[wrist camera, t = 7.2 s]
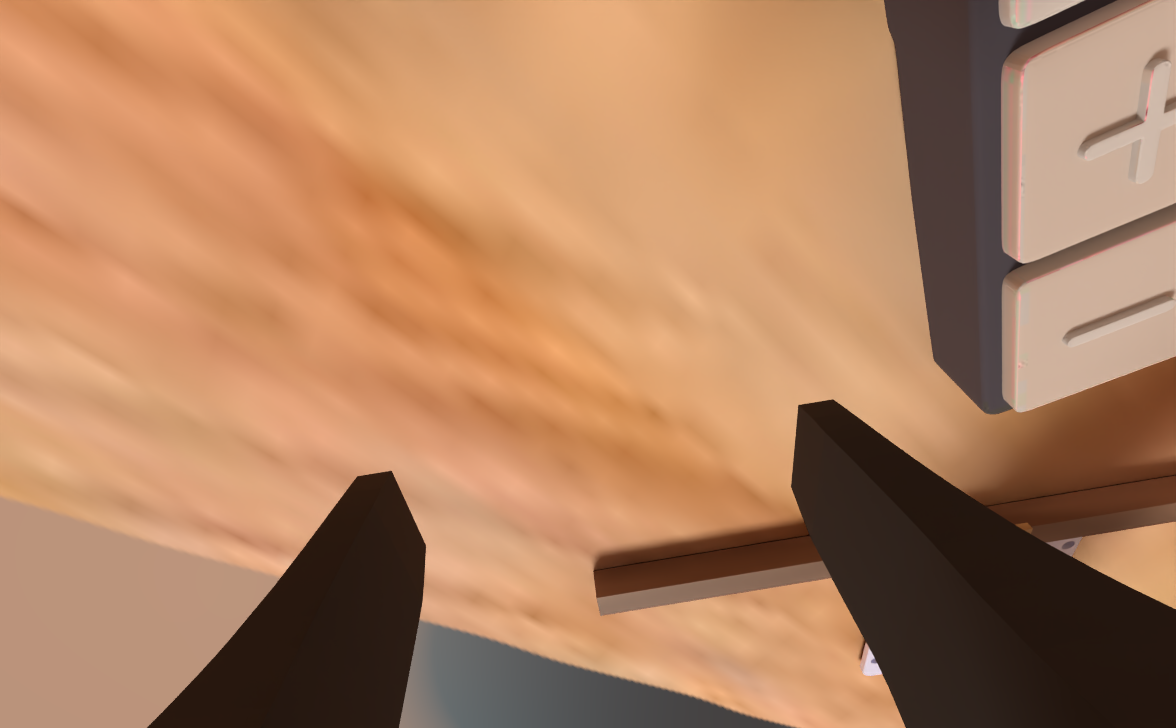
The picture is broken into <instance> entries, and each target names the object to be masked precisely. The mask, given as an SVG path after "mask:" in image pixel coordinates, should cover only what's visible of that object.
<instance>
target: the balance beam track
mask: <svg viewBox="0 0 1176 728" xmlns="http://www.w3.org/2000/svg"><path fill="white" fill-rule="evenodd" d="M987 508H989V509H991V510H992V511H994V512H995V513H997V514H999V515H1000V516H1002V517H1003V518H1005V519H1007V520H1008V521H1010V522H1011V523H1013V524H1015V525H1016V526H1018V527H1020V528H1021V529H1023V530H1025V531H1026V532H1028V533H1030V534H1032V535H1033V536H1035V537H1037V538H1038V539H1040V540H1042V541H1044V542H1046V543H1047V542H1053V541H1059V540H1065V539H1072V538H1078V537H1084V536H1090V535H1096V534H1102V533H1108V532H1114V531H1120V530H1126V529H1133V528H1139V527H1145V526H1151V525H1157V524H1163V523H1169V522H1175V521H1176V476H1170V477H1163V478H1157V479H1151V480H1145V481H1139V482H1133V483H1127V484H1121V485H1115V486H1109V487H1103V488H1097V489H1090V490H1084V491H1078V492H1072V493H1066V494H1060V495H1054V496H1048V497H1042V498H1036V499H1030V500H1023V501H1017V502H1011V503H1005V504H999V505H993V506H987ZM828 578H831V576H830V574H829V572H828V570H827V568H826V566H825V564H824V562H823V561H822V559H821V557H820V555H819V553H818V551H817V549H816V547H815V545H814V543H813V541H812V539H811V537H810V536H804V537H798V538H792V539H786V540H780V541H774V542H768V543H762V544H756V545H750V546H743V547H737V548H731V549H725V550H719V551H713V552H707V553H701V554H695V555H689V556H683V557H677V558H670V559H664V560H658V561H652V562H646V563H640V564H634V565H628V566H622V567H616V568H610V569H603V570H597V571H594V580H595V588H596V597H597V602H598V607H599V611H600V616H602V615H608V614H615V613H621V612H627V611H633V610H639V609H645V608H651V607H657V606H663V605H669V604H675V603H682V602H688V601H694V600H700V599H706V598H712V597H718V596H724V595H730V594H736V593H743V592H749V591H755V590H761V589H767V588H773V587H779V586H785V585H791V584H797V583H803V582H810V581H816V580H822V579H828Z"/></svg>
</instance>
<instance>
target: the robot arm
mask: <svg viewBox="0 0 1176 728" xmlns="http://www.w3.org/2000/svg"><path fill="white" fill-rule="evenodd" d="M791 488H792V490H793V493H794V496H795V498H796V501H797V504H798V506H799V509H800V512H801V514H802V517H803V520H804V522H805V525H806V527H807V530H808V532H809V535H810V537H811V539H812V541H813V543H814V545H815V547H816V549H817V551H818V553H819V555H820V557H821V559H822V561H823V562H824V564H825V566H826V568H827V570H828V572H829V574H830V576H831V578H832V580H833V581H834V583H835V585H836V587H837V589H838V591H839V593H840V594H841V596H842V598H843V600H844V602H845V604H846V606H847V608H848V609H849V611H850V613H851V615H852V617H853V619H854V621H855V622H856V624H857V626H858V628H859V630H860V632H861V634H862V635H863V637H864V639H865V641H866V644H865V648H864V652H863V656H862V660H861V664H860V668H861V670H862V672H863V674H864V675H867V676H873V675H879V674H883V676H884V678H885V680H886V682H887V685H888V687H889V689H890V691H891V694H892V696H893V698H894V701H895V703H896V705H897V708H898V710H899V713H900V715H901V717H902V720H903V722H904V724H905V727H906V728H1176V609H1174V608H1172V607H1169V606H1167V605H1165V604H1163V603H1161V602H1159V601H1157V600H1155V599H1153V598H1151V597H1149V596H1147V595H1145V594H1142V593H1140V592H1138V591H1136V590H1134V589H1132V588H1130V587H1128V586H1126V585H1124V584H1122V583H1120V582H1118V581H1116V580H1114V579H1112V578H1110V577H1108V576H1107V575H1105V574H1103V573H1101V572H1099V571H1097V570H1095V569H1093V568H1091V567H1089V566H1088V565H1086V564H1084V563H1082V562H1080V561H1078V560H1077V559H1075V558H1073V557H1072V555H1073V554H1074V552H1075V550H1076V548H1077V546H1078V544H1079V542H1080V541H1081V539H1082V537H1078V538H1072V539H1065V540H1059V541H1053V542H1047V543H1046V542H1044V541H1042V540H1040V539H1038V538H1037V537H1035V536H1033V535H1032V534H1030V533H1028V532H1026V531H1025V530H1023V529H1021V528H1020V527H1018V526H1016V525H1015V524H1013V523H1011V522H1010V521H1008V520H1007V519H1005V518H1003V517H1002V516H1000V515H999V514H997V513H995V512H994V511H992V510H991V509H989V508H987V507H986V506H984V505H983V504H981V503H979V502H978V501H976V500H975V499H973V498H971V497H970V496H968V495H967V494H965V493H964V492H962V491H961V490H959V489H958V488H956V487H955V486H953V485H952V484H950V483H949V482H947V481H946V480H944V479H943V478H941V477H940V476H938V475H937V474H935V473H934V472H933V471H931V470H930V469H928V468H927V467H925V466H924V465H922V464H921V463H920V462H918V461H917V460H915V459H914V458H913V457H911V456H910V455H908V454H907V453H906V452H904V451H903V450H901V449H900V448H899V447H897V446H896V445H894V444H893V443H892V442H890V441H889V440H888V439H886V438H885V437H884V436H882V435H881V434H879V433H878V432H877V431H875V430H874V429H873V428H871V427H870V426H869V425H867V424H866V423H865V422H863V421H862V420H861V419H859V418H858V417H857V416H855V415H854V414H852V413H851V412H850V411H848V410H847V409H846V408H844V407H843V406H842V405H840V404H839V403H837V402H836V401H835V400H827V401H821V402H815V403H809V404H802V405H798V416H797V427H796V439H795V450H794V461H793V473H792V484H791ZM425 553H426V545H425V543H424V540H423V538H422V536H421V534H420V532H419V530H418V527H417V525H416V523H415V521H414V519H413V516H412V514H411V512H410V510H409V508H408V506H407V503H406V501H405V499H404V497H403V495H402V493H401V490H400V488H399V486H398V484H397V482H396V479H395V477H394V475H393V473H392V471H388V472H382V473H376V474H369V475H363V476H357V478H356V479H355V480H354V482H353V483H352V484H351V485H350V487H349V488H348V489H347V491H346V492H345V493H344V495H343V496H342V497H341V499H340V500H339V501H338V503H337V504H336V505H335V507H334V508H333V509H332V511H331V512H330V513H329V515H328V516H327V518H326V519H325V520H324V522H323V523H322V524H321V526H320V527H319V528H318V530H317V531H316V532H315V534H314V535H313V536H312V538H311V539H310V540H309V542H308V543H307V544H306V546H305V547H304V548H303V550H302V551H301V552H300V554H299V555H298V556H297V557H296V559H295V560H294V561H293V563H292V564H291V565H290V566H289V568H288V569H287V570H286V572H285V573H284V574H283V576H282V577H281V578H280V579H279V581H278V582H277V583H276V585H275V586H274V587H273V588H272V590H271V591H270V592H269V593H268V594H267V596H266V597H265V598H264V599H263V601H262V602H261V603H260V604H259V605H258V606H257V608H256V609H255V610H254V611H253V612H252V614H251V615H250V616H249V617H248V618H247V620H246V621H245V622H244V623H243V624H242V626H241V627H240V628H239V629H238V630H237V632H236V633H235V634H234V635H233V637H232V638H231V639H230V640H229V641H228V642H227V644H226V645H225V646H224V647H223V648H222V649H221V650H220V651H219V653H218V654H217V655H216V656H215V657H214V658H213V659H212V660H211V661H210V662H209V664H208V665H207V666H206V667H205V668H204V669H203V670H202V671H201V672H200V673H199V675H198V676H197V677H196V678H195V679H194V680H193V681H192V682H191V683H190V684H189V685H188V686H187V687H186V688H185V690H183V691H182V693H180V695H179V696H178V697H177V698H176V699H175V700H174V701H173V702H172V703H171V704H170V705H169V706H168V707H167V708H166V709H165V710H164V711H163V712H162V713H161V714H160V715H159V716H158V717H157V718H156V719H155V720H154V721H153V722H152V723H151V725H149V726H148V727H147V728H399V724H400V718H401V713H402V708H403V703H404V697H405V692H406V687H407V682H408V676H409V671H410V666H411V661H412V656H413V650H414V645H415V640H416V634H417V629H418V623H419V618H420V612H421V607H422V601H423V587H424V573H425Z"/></svg>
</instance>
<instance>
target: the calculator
mask: <svg viewBox="0 0 1176 728" xmlns="http://www.w3.org/2000/svg"><path fill="white" fill-rule="evenodd" d="M884 3H885V10H886V17H887V23H888V28H889V31H890V33H891V36H892V38H893V41H894V44H895V48H896V56H897V65H898V74H899V84H900V93H901V102H902V111H903V121H904V130H905V139H906V148H907V158H908V167H909V176H910V185H911V195H912V203H913V211H914V219H915V226H916V234H917V241H918V249H919V256H920V264H921V271H922V279H923V286H924V293H925V301H926V308H927V315H928V322H929V330H930V337H931V344H932V351H933V358H934V361H935V362H936V363H937V364H938V365H939V367H940V368H941V369H942V370H943V371H944V372H945V373H946V374H947V375H948V376H949V377H950V378H951V379H952V380H953V381H954V382H955V383H956V384H957V385H958V386H959V387H960V388H961V389H962V390H963V391H964V392H965V393H966V395H967V396H968V397H969V398H970V399H971V400H972V401H973V402H974V403H975V404H976V405H977V406H978V407H979V408H980V409H981V410H982V411H984V412H985V413H987V414H999V413H1002V412H1005V411H1008V410H1010V409H1014V410H1015V411H1017V412H1025V411H1029V410H1032V409H1035V408H1037V407H1040V406H1043V405H1045V404H1048V403H1051V402H1054V401H1056V400H1059V399H1062V398H1064V397H1067V396H1070V395H1072V394H1075V393H1078V392H1081V391H1083V390H1086V389H1089V388H1091V387H1094V386H1097V385H1099V384H1102V383H1105V382H1108V381H1110V380H1113V379H1116V378H1118V377H1121V376H1124V375H1127V374H1129V373H1132V372H1135V371H1137V370H1140V369H1143V368H1145V367H1148V366H1151V365H1154V364H1156V363H1159V362H1162V361H1164V360H1167V359H1170V358H1172V357H1175V356H1176V0H884Z"/></svg>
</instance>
